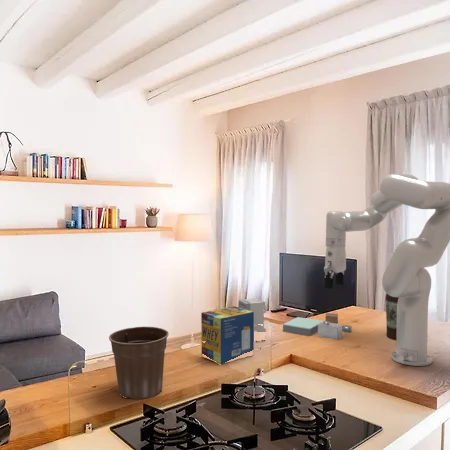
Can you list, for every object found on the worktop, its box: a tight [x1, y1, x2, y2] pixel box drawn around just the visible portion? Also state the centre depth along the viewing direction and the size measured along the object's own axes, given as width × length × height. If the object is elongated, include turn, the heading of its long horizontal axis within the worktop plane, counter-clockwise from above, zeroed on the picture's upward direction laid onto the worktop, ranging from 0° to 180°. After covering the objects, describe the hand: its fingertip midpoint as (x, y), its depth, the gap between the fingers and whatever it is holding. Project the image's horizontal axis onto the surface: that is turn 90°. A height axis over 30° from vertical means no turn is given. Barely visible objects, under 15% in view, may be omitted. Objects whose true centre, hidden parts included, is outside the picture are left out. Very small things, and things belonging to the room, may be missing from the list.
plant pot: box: [108, 326, 169, 400], centre depth 127 cm, size 16×16×16 cm
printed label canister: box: [385, 293, 399, 341], centre depth 178 cm, size 11×11×25 cm
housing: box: [317, 320, 343, 341], centre depth 179 cm, size 5×8×6 cm, turn 56°
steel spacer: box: [342, 324, 353, 333], centre depth 187 cm, size 4×4×2 cm
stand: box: [282, 316, 324, 337], centre depth 189 cm, size 14×12×3 cm
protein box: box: [200, 305, 255, 365], centre depth 156 cm, size 10×15×16 cm
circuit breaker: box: [238, 298, 267, 333], centre depth 175 cm, size 8×14×15 cm, turn 111°
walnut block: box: [325, 312, 339, 324], centre depth 195 cm, size 5×5×5 cm
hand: (334, 286), depth 179 cm, fingers open, 9 cm apart
